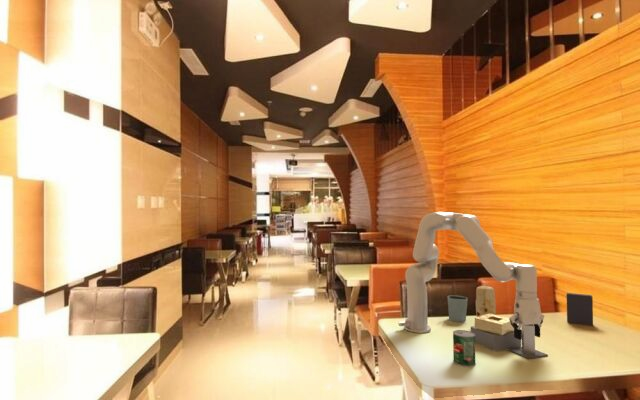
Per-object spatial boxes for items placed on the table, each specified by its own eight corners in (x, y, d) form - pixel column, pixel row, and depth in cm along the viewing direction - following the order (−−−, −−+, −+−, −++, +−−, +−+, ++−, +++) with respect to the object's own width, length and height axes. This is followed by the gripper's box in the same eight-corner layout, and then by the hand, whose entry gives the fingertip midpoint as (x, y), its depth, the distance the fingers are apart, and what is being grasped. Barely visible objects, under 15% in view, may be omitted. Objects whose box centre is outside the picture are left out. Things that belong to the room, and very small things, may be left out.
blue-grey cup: (443, 318, 202) (443, 296, 203) (458, 316, 206) (457, 294, 207) (457, 323, 193) (457, 299, 193) (472, 321, 197) (471, 298, 197)
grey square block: (494, 351, 154) (494, 336, 154) (470, 340, 167) (470, 326, 167) (521, 347, 158) (520, 333, 158) (496, 337, 171) (495, 323, 172)
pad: (528, 359, 145) (528, 357, 145) (508, 350, 155) (508, 348, 155) (547, 356, 148) (547, 354, 148) (526, 347, 158) (526, 346, 158)
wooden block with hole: (501, 335, 154) (501, 324, 154) (474, 328, 164) (474, 317, 164) (517, 329, 163) (517, 318, 163) (490, 322, 172) (490, 312, 172)
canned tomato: (480, 363, 140) (479, 334, 141) (466, 368, 136) (466, 337, 137) (461, 357, 147) (461, 328, 148) (448, 361, 143) (448, 332, 143)
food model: (491, 324, 192) (491, 284, 192) (499, 328, 185) (498, 287, 186) (473, 324, 191) (473, 285, 192) (479, 328, 184) (479, 287, 185)
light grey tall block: (523, 352, 150) (523, 325, 150) (521, 349, 154) (521, 322, 154) (535, 354, 149) (534, 326, 149) (532, 350, 153) (532, 323, 153)
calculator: (592, 324, 192) (591, 294, 193) (593, 326, 188) (592, 296, 189) (567, 320, 198) (566, 292, 199) (567, 322, 194) (566, 293, 195)
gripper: (517, 298, 146) (518, 342, 145) (550, 295, 151) (551, 338, 151) (502, 294, 153) (503, 336, 153) (534, 291, 159) (535, 332, 158)
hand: (527, 337), depth 152 cm, fingers open, 9 cm apart
